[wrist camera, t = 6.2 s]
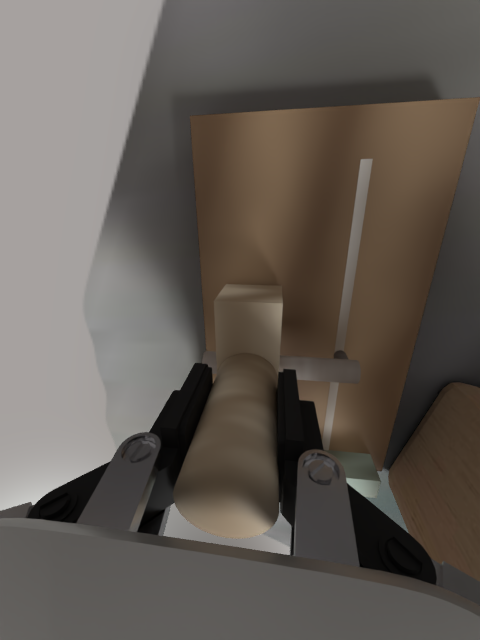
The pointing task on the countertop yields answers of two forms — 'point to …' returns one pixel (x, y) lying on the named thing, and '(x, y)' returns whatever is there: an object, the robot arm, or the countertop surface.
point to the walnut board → (334, 242)
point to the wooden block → (444, 479)
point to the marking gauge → (244, 416)
